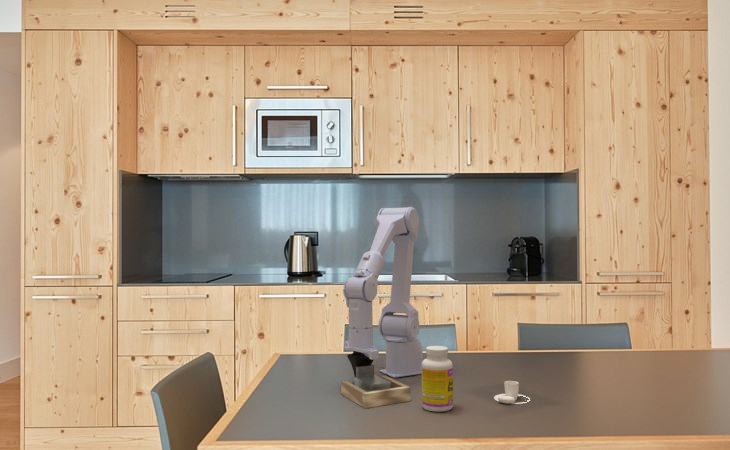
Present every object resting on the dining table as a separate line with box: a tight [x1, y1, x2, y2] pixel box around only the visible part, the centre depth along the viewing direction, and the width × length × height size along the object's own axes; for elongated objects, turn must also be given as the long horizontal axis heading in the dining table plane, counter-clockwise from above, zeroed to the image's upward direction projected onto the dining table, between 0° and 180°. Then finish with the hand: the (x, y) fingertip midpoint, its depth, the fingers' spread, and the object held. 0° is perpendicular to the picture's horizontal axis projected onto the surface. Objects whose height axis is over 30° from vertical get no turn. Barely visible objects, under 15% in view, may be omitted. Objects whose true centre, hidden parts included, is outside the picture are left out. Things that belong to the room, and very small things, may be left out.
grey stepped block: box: [354, 363, 391, 392], centre depth 134 cm, size 8×6×6 cm
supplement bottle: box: [421, 345, 454, 413], centre depth 125 cm, size 7×7×13 cm
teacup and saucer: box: [493, 380, 531, 405], centre depth 131 cm, size 9×8×4 cm
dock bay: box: [340, 374, 412, 409], centre depth 133 cm, size 11×12×3 cm
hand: (361, 384), depth 140 cm, fingers closed
